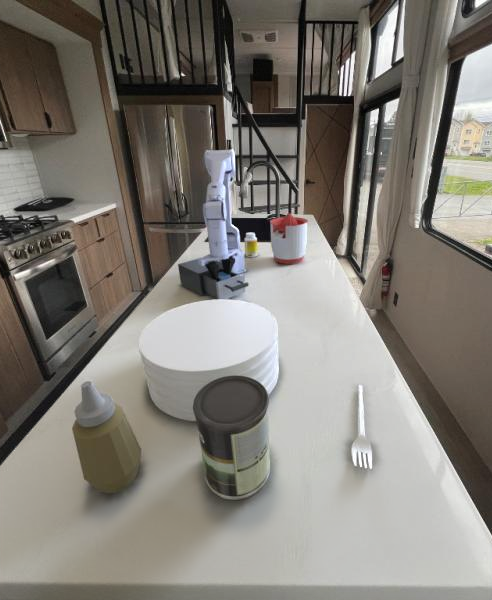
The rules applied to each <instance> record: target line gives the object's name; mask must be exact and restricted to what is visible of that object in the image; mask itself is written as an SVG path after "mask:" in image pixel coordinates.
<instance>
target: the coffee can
mask: <svg viewBox="0 0 492 600" xmlns="http://www.w3.org/2000/svg"><path fill="white" fill-rule="evenodd" d="M269 399H270V398H269V395H268V393H267V390H266V389H265V387H264V386H263V385H262V384H261V383H260V382H258V381H256V380H255V379H252V378H249V377H246V376H238V375H234V376H226V377H221V378H218V379H215V380H213V381H211V382H210V383H208V384H207V385H205V386H204V387H203V388H202V389H201V390H200V391H199V392H198V393H197V395H196V397H195V399H194V402H193V411H194V415H195V418H196V421H195V423H196V428H197V429H196V430H197V435H198V440H199V446H200V453H201V457H202V464H203V469H204V478H205V482H206V484H207V486H208V488H209V489H210V491H212V493H213V494H215V495H217V496H218V497H220V498H222V499H224V500H233V501H236V500H244V499H246V498H249V497H251V496H253V495H255V494H256V493H258V492H259V491H260V490H261V489H262V488H263V487H264V486H265V484H266V482H267V481H268V479H269V476H270V474H271V473H270V472H271V459H270V433H269V431H270V430H269V401H270V400H269Z"/></svg>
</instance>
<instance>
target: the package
mask: <svg viewBox="0 0 492 600" xmlns="http://www.w3.org/2000/svg"><path fill="white" fill-rule="evenodd" d="M218 277H219V281H222V280H225V279H228V278H231V275H229V274H226V273H224V272H219V273H218Z"/></svg>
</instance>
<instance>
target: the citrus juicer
mask: <svg viewBox="0 0 492 600" xmlns="http://www.w3.org/2000/svg"><path fill="white" fill-rule="evenodd" d="M308 222H309V220H308V219H306V218H304V217H299V216H298V217H297V216H296V217H295V216H293V215H292V214H291V213H290V212H288V213H286V214H285V216H283V217H276V218H273V219H270V221H269V223H270V244H271V247H270V248H271V251H272V254H273V257H274V260H275V261H276V262H277V263H280V264H286V265H287V264H288V265H294V264H298V263H300V262H302V261H303V259H304V258H305V257H304V256H305V254H306V250H307V242H308Z"/></svg>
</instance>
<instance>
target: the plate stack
mask: <svg viewBox="0 0 492 600" xmlns="http://www.w3.org/2000/svg"><path fill="white" fill-rule="evenodd" d="M278 335H279V326H278V321H277V320H276V317H275V316H274V315H273V314H272V312H270V311H269V310H267V309H266V308H264V307H262V306H260V305H258V304H256V303H252V302H248V301H246V300H245V301H244V300H238V299H230V298H229V299H217V298H216V299H206V300H199V301H194V302H188V303H186V304H182V305H179V306H176V307H173V308H170V309H169V310H167V311H164V312H162V313H161V314H159V315H157V316H156V317H154V318H153V319H151V321H149V322H148V323H147V324H146V325H145V327H143V329H142V330H141V332H140V334H139V336H138V339H137V340H138V341H137V347H138V351H139V354H140V359H141V364H142V366H143V372H144V375H145V380H146V385H147V388H148V392H149V395H150V396H149V397H150V398H151V400H152V402H153V404H154V405H155V406H156V407H157V408H158V409H159V410H161V412H163V413H165V414H167V415H169V416H170V417H173V418H176V419H180V420H183V421H187V422H188V421H189V422H196V418H195V415H194V411H193V402H194V399H195V397H196V395H197V393H198V392H199V391H200V390H201V389H202V388H203V387H204V386H205V385H207V384H208V383H210V382H211V381H213V380H215V379H218V378H221V377H226V376H234V375H238V376H246V377H249V378H252V379H255V380H256V381H258V382H260V383H261V384H262V385H263V386H264V387H265V389H266V390H267V393H268V396H270V394H271V393H272V392H273V390H274V389H275V387H276V385H277V382H278V379H279V373H280V372H279V369H280V368H279V336H278Z"/></svg>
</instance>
